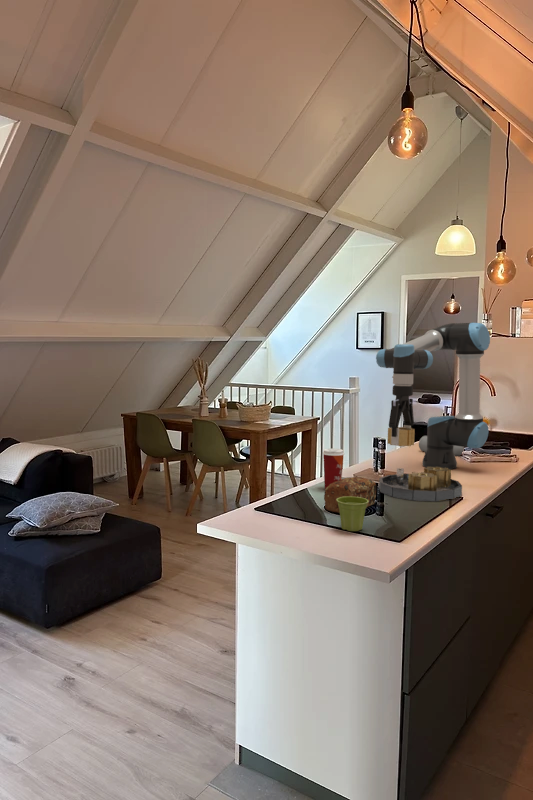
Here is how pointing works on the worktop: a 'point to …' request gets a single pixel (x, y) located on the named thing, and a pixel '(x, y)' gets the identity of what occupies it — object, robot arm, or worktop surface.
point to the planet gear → (403, 436)
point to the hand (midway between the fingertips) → (400, 443)
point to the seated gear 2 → (440, 475)
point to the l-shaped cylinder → (423, 446)
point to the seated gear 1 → (422, 481)
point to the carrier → (399, 489)
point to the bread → (349, 491)
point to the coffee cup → (332, 465)
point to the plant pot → (352, 512)
